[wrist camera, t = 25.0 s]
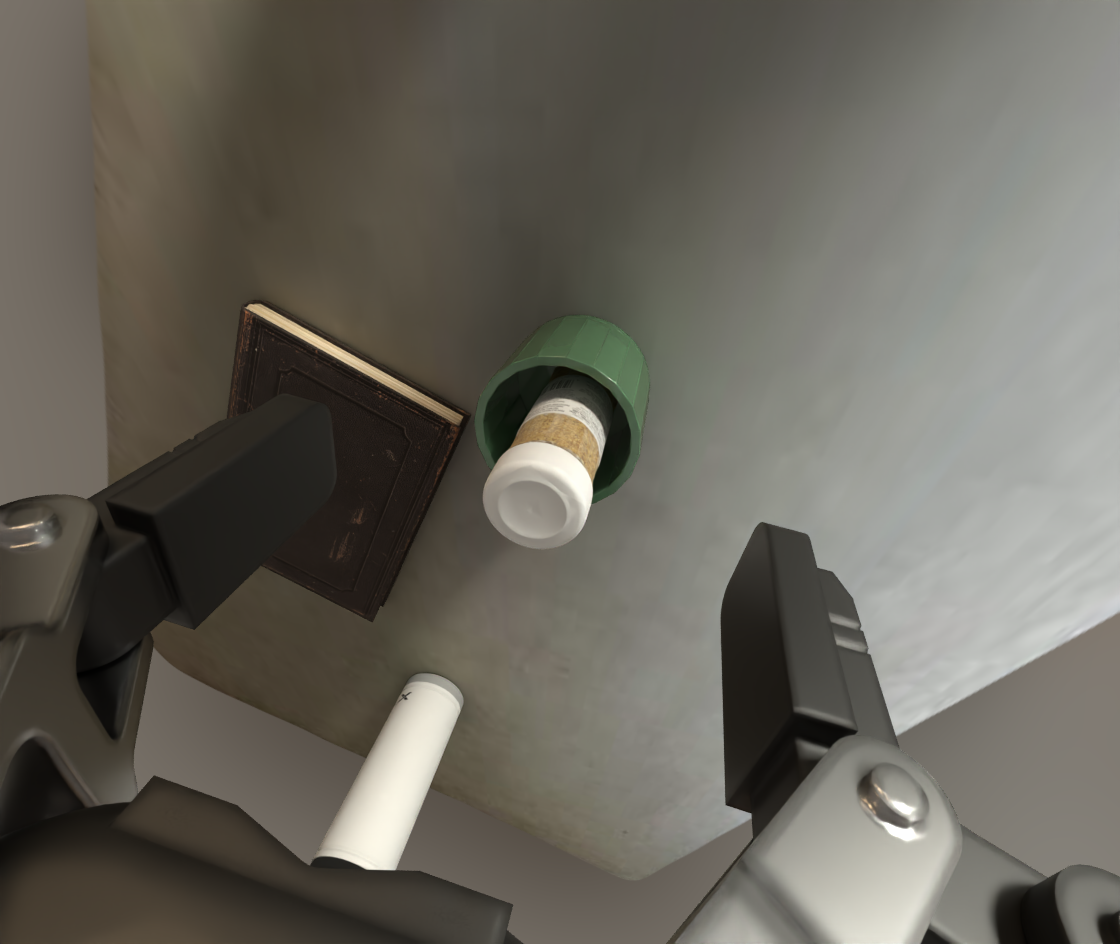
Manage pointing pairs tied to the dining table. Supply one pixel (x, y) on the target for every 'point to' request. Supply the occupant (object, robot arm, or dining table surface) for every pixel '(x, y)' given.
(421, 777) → the travel mug
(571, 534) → the sprinkles bottle
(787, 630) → the robot arm
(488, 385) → the cup
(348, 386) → the hardcover book
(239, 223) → the dining table surface
